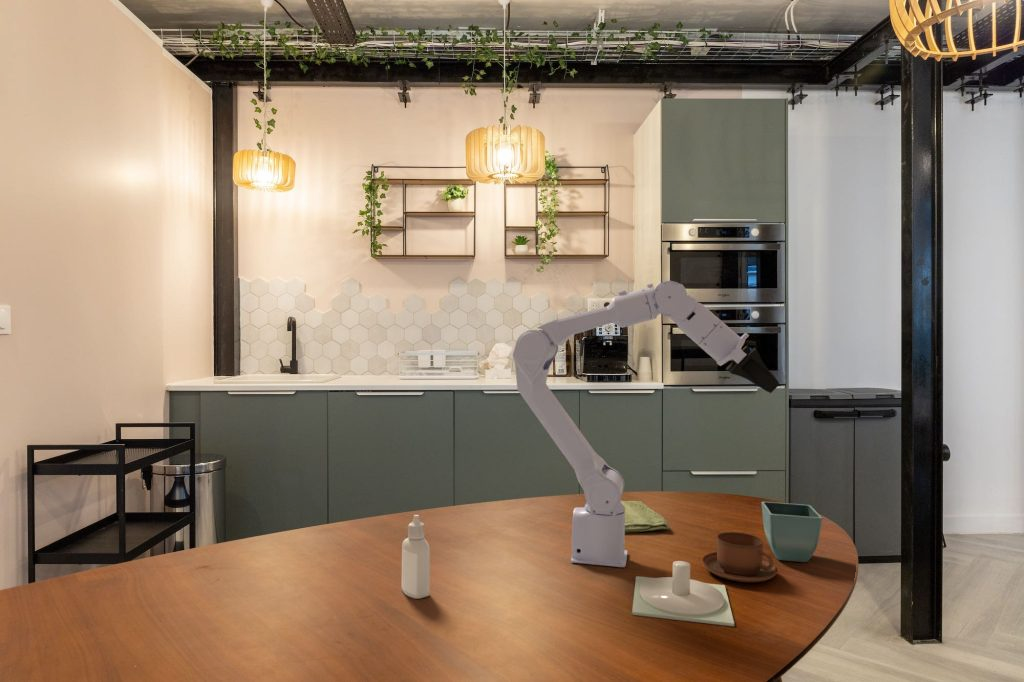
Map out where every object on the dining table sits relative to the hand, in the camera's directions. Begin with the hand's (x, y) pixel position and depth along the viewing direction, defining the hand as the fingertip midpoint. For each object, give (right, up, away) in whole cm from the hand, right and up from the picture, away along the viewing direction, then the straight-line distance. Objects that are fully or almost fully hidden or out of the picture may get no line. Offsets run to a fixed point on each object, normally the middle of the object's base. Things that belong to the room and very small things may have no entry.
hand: (771, 386), depth 107 cm
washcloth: (-19, -32, +31) cm, 48 cm away
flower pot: (+7, -32, +9) cm, 34 cm away
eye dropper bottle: (-59, -31, -9) cm, 67 cm away
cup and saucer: (-5, -32, +1) cm, 33 cm away
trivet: (-18, -32, -11) cm, 38 cm away
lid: (-18, -31, -11) cm, 38 cm away
